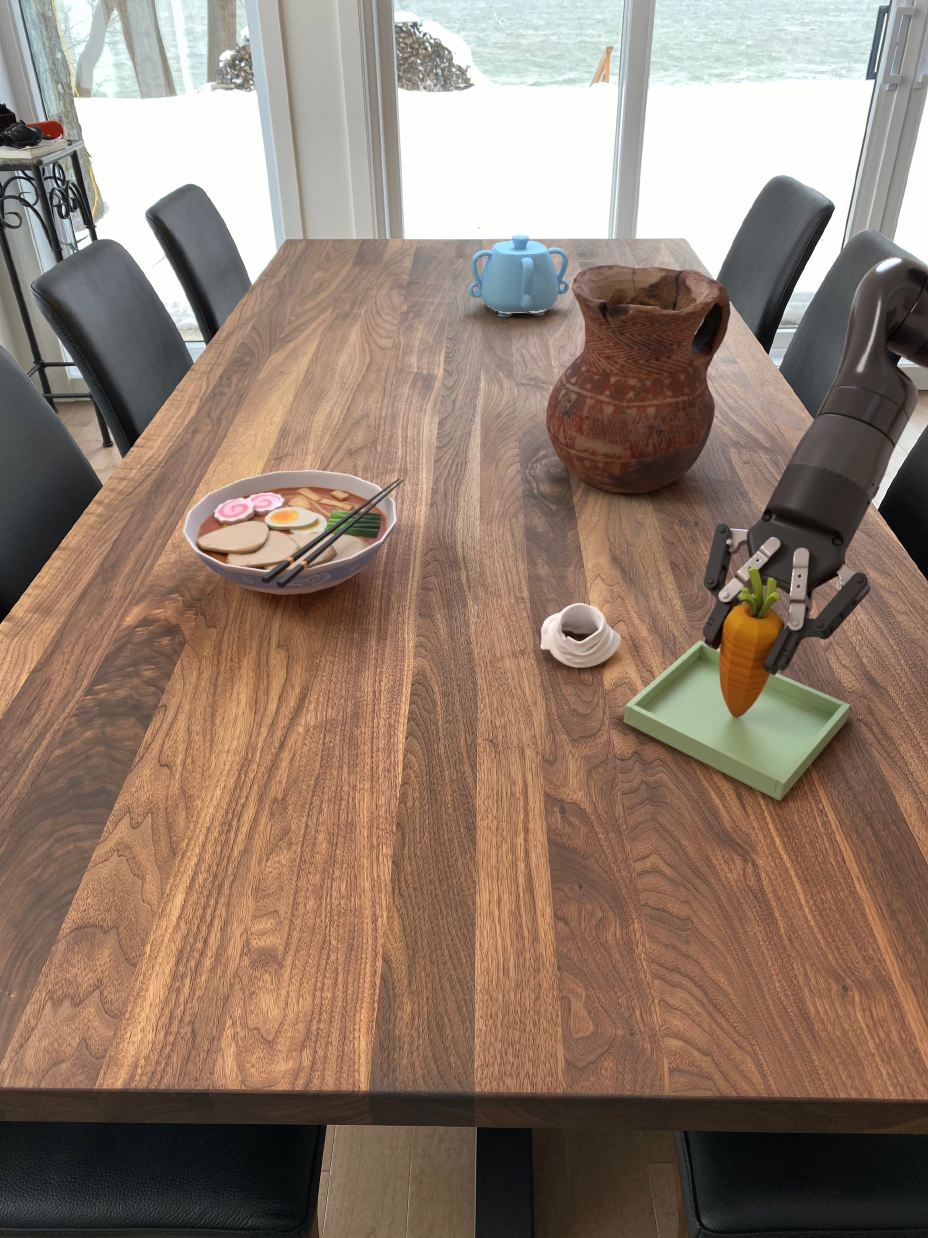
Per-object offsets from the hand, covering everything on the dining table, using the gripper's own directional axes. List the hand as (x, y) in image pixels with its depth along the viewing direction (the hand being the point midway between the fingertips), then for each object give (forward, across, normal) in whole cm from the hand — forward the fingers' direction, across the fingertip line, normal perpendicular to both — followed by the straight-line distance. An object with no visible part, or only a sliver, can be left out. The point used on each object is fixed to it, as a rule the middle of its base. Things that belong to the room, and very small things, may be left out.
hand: (739, 658), depth 82 cm
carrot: (+4, 0, +7) cm, 8 cm away
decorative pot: (-55, -91, +67) cm, 125 cm away
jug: (-21, -36, +33) cm, 54 cm away
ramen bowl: (+11, -49, +1) cm, 50 cm away
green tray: (+5, 0, +7) cm, 8 cm away
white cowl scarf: (+5, -17, +7) cm, 19 cm away
